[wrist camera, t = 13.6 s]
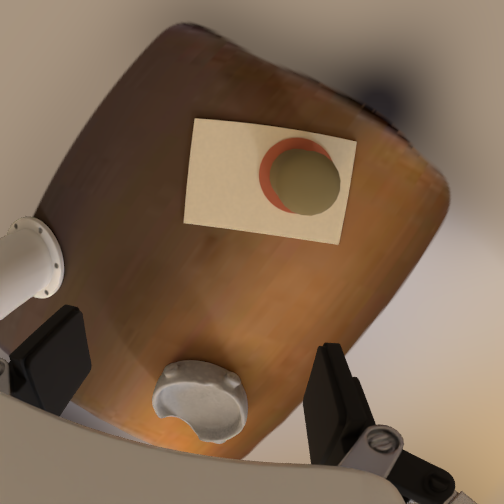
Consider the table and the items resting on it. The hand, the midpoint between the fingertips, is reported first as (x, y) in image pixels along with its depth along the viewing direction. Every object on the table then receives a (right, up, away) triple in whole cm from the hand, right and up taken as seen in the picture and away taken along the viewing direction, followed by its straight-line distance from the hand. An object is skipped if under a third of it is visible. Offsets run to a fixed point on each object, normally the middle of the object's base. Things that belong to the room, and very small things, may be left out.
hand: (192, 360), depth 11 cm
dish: (-5, -17, +32) cm, 37 cm away
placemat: (+4, +12, +22) cm, 26 cm away
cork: (+7, +12, +22) cm, 26 cm away
